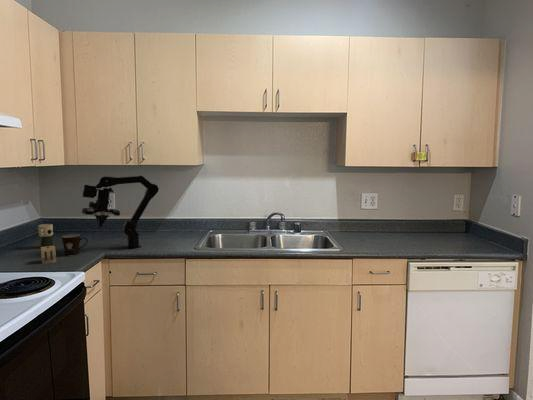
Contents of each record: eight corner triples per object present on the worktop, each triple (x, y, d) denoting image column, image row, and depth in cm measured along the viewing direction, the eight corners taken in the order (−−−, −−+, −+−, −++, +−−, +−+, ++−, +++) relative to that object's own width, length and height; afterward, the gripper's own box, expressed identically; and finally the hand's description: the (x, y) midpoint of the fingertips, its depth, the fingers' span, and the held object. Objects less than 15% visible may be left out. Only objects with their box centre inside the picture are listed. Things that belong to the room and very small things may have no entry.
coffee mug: (59, 255, 199) (57, 237, 198) (71, 251, 207) (70, 233, 206) (77, 257, 196) (76, 238, 195) (89, 253, 204) (88, 234, 203)
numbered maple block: (56, 262, 188) (55, 247, 187) (42, 263, 185) (41, 249, 184) (55, 259, 193) (54, 245, 192) (41, 260, 190) (40, 246, 189)
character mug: (48, 249, 213) (46, 226, 211) (35, 249, 212) (33, 226, 211) (58, 244, 224) (56, 223, 222) (45, 245, 223) (44, 223, 222)
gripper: (113, 198, 220) (110, 224, 221) (79, 196, 206) (76, 224, 207) (122, 201, 212) (118, 228, 213) (87, 198, 199) (84, 228, 200)
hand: (99, 227), depth 208 cm, fingers closed
